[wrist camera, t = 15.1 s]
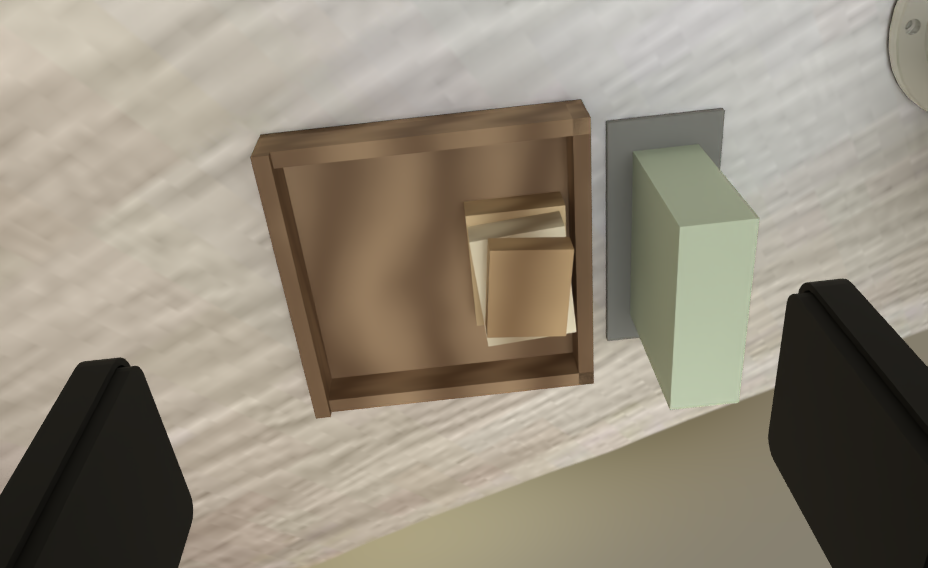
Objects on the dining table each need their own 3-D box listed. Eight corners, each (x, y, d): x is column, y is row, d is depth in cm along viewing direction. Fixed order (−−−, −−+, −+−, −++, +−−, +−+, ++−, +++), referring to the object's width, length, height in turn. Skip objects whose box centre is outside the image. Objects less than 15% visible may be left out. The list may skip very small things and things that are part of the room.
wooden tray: (580, 99, 47) (592, 120, 44) (585, 357, 57) (595, 388, 54) (260, 134, 47) (250, 157, 44) (321, 385, 57) (316, 418, 54)
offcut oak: (560, 191, 49) (565, 205, 48) (563, 299, 54) (568, 315, 52) (463, 201, 49) (465, 216, 48) (475, 309, 54) (477, 325, 52)
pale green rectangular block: (698, 144, 48) (759, 218, 40) (688, 308, 55) (738, 402, 46) (632, 151, 49) (679, 227, 40) (630, 314, 55) (670, 410, 46)
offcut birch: (559, 210, 48) (564, 226, 46) (571, 314, 52) (576, 331, 50) (467, 226, 48) (469, 242, 46) (486, 328, 52) (488, 346, 50)
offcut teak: (569, 237, 47) (573, 249, 45) (562, 322, 50) (566, 336, 48) (487, 238, 46) (489, 250, 45) (485, 323, 49) (487, 337, 48)
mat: (722, 108, 48) (724, 110, 47) (705, 326, 56) (707, 330, 56) (606, 120, 48) (607, 123, 47) (606, 337, 56) (607, 340, 56)
